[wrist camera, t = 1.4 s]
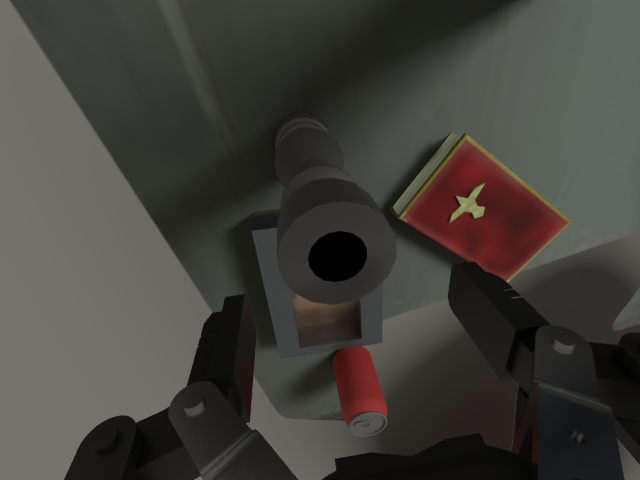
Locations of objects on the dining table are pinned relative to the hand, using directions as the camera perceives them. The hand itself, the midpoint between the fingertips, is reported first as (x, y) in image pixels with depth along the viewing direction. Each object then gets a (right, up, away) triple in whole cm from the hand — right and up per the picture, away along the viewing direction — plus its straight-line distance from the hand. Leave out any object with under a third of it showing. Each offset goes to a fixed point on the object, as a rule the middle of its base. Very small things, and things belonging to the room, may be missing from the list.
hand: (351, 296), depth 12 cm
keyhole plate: (-1, -2, +33) cm, 33 cm away
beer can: (+4, -18, +43) cm, 47 cm away
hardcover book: (+20, +7, +32) cm, 38 cm away
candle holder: (-3, +14, +24) cm, 28 cm away
